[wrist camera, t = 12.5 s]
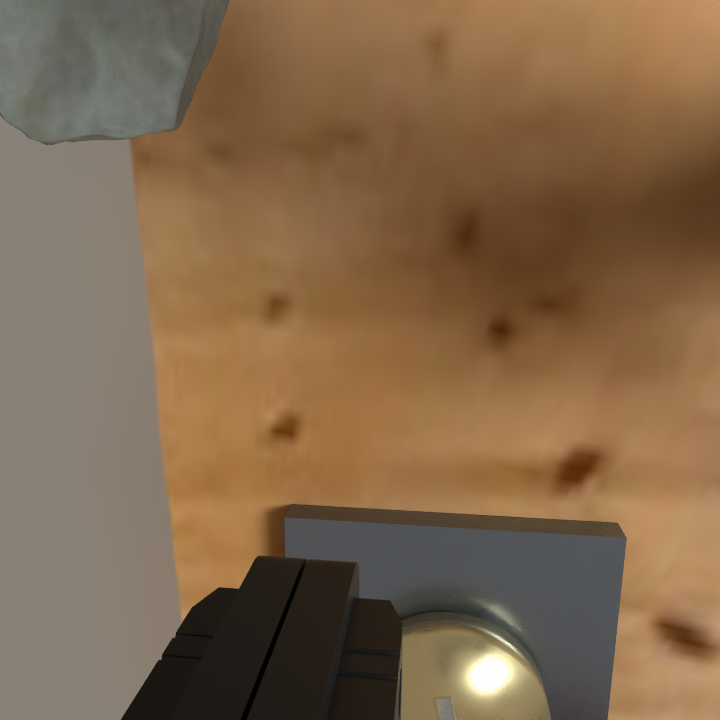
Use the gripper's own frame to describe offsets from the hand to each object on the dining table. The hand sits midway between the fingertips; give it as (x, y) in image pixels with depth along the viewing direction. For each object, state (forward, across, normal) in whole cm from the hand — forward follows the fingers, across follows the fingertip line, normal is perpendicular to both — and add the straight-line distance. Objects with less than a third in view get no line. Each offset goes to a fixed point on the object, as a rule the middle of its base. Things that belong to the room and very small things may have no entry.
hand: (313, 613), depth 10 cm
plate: (+32, +3, -25) cm, 41 cm away
